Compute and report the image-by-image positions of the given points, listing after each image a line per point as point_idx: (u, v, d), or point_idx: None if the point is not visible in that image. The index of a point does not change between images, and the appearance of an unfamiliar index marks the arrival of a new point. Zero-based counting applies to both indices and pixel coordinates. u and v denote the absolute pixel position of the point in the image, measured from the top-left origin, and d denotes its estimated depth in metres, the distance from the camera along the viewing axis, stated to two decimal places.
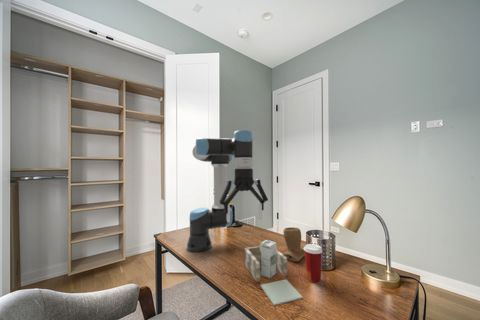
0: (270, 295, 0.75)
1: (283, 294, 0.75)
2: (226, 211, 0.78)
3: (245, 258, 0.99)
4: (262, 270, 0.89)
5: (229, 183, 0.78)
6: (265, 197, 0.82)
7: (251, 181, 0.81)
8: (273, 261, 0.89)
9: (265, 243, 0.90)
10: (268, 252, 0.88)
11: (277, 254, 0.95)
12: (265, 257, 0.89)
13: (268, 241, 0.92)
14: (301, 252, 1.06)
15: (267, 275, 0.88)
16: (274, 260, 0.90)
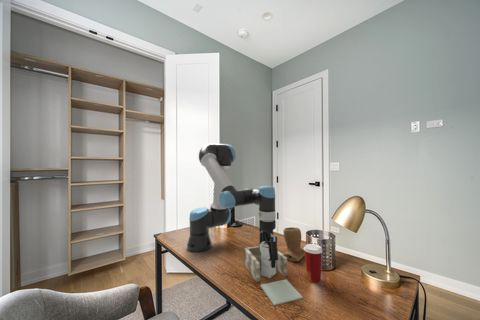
0: (270, 295, 0.75)
1: (283, 294, 0.75)
2: None
3: (245, 258, 0.99)
4: (262, 269, 0.89)
5: None
6: (272, 256, 0.84)
7: (268, 233, 0.88)
8: None
9: (265, 243, 0.90)
10: (268, 252, 0.88)
11: None
12: (265, 257, 0.89)
13: (268, 241, 0.92)
14: (301, 252, 1.06)
15: (267, 275, 0.88)
16: None
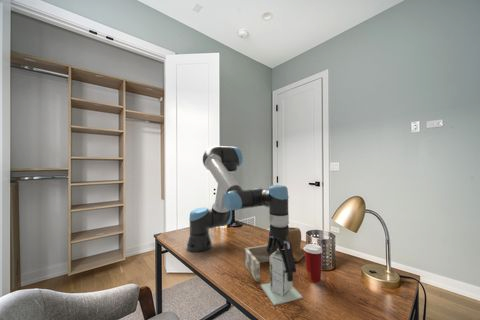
0: (270, 295, 0.75)
1: None
2: None
3: (245, 258, 0.99)
4: (274, 285, 0.77)
5: (269, 235, 0.84)
6: (288, 268, 0.70)
7: (280, 241, 0.75)
8: None
9: (277, 254, 0.78)
10: (280, 266, 0.75)
11: None
12: (276, 271, 0.76)
13: None
14: (301, 252, 1.06)
15: (279, 292, 0.75)
16: None
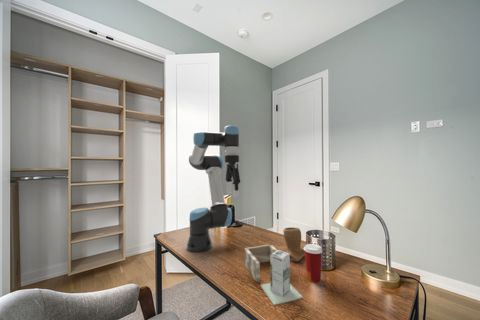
0: (270, 295, 0.75)
1: None
2: None
3: (245, 258, 0.99)
4: (274, 285, 0.77)
5: None
6: (234, 179, 0.96)
7: (231, 165, 1.02)
8: (286, 275, 0.76)
9: (277, 254, 0.78)
10: (280, 266, 0.75)
11: None
12: (276, 271, 0.76)
13: (280, 252, 0.80)
14: (301, 252, 1.06)
15: (279, 292, 0.75)
16: (287, 274, 0.77)
